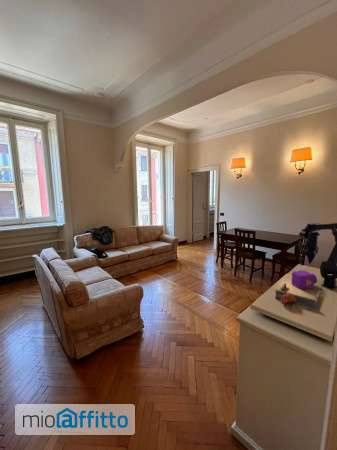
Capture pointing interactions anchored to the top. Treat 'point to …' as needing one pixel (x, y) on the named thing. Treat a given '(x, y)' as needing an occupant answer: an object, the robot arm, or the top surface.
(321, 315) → the top surface
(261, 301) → the top surface
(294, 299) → the pomegranate
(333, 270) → the robot arm
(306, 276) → the toy camera
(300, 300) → the guide bay
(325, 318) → the top surface
